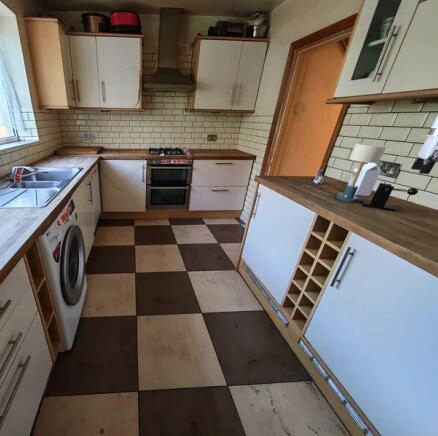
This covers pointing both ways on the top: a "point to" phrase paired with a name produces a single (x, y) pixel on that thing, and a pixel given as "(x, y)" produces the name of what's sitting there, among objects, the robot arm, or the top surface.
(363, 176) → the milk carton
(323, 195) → the top surface
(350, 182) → the sprinkles bottle
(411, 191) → the lamp switch
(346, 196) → the table lamp
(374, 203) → the switch bracket
